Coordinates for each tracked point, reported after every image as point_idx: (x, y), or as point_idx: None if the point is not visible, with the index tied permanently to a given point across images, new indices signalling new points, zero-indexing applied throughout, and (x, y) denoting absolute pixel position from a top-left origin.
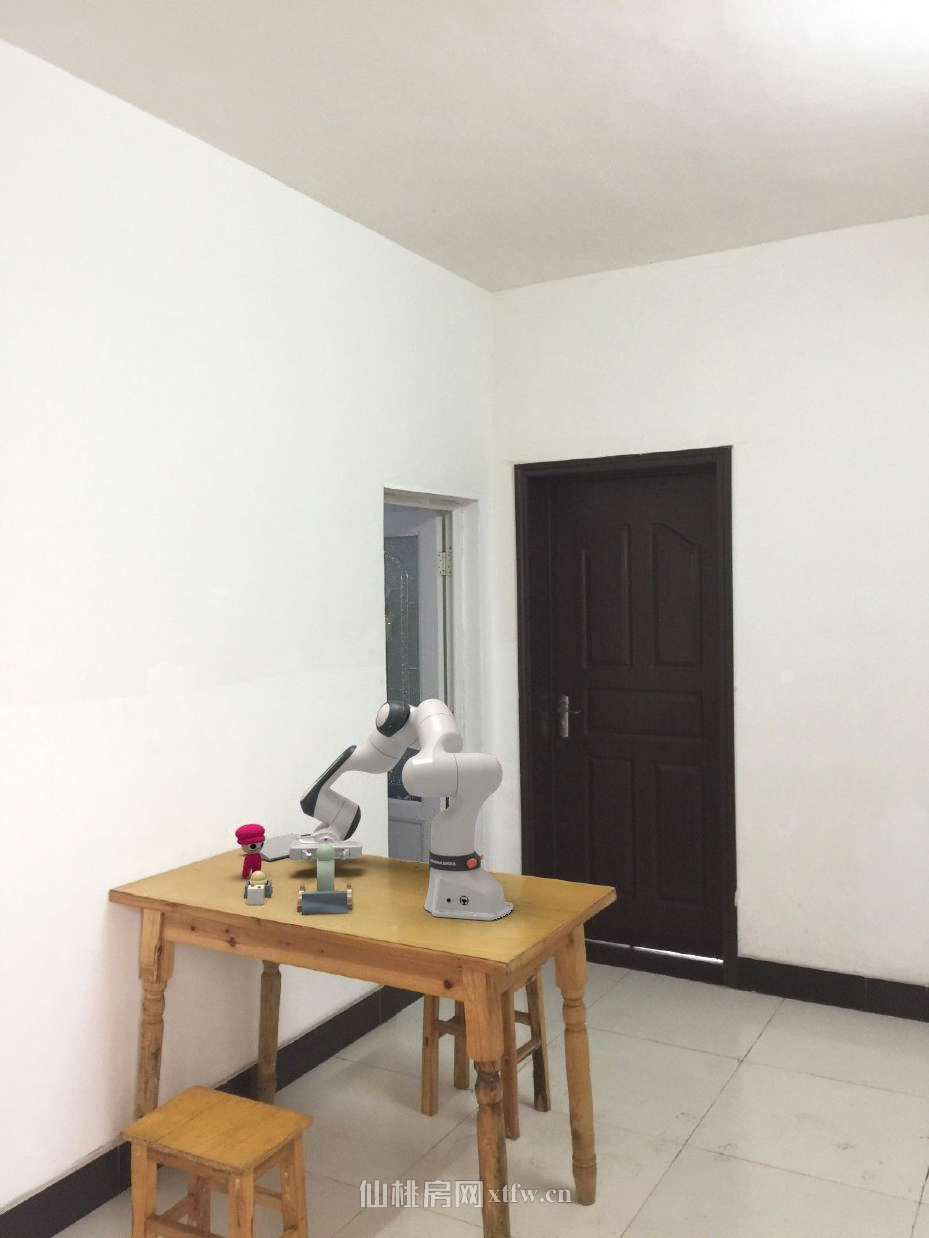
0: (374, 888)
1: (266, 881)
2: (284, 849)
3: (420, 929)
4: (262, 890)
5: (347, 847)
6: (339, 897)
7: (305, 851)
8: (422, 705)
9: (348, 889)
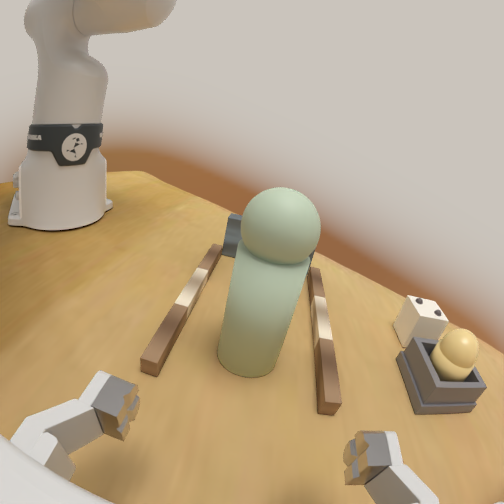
0: (79, 331)
1: (434, 353)
2: None
3: (156, 199)
4: (407, 298)
5: (13, 446)
6: None
7: (413, 490)
8: None
9: (183, 306)
